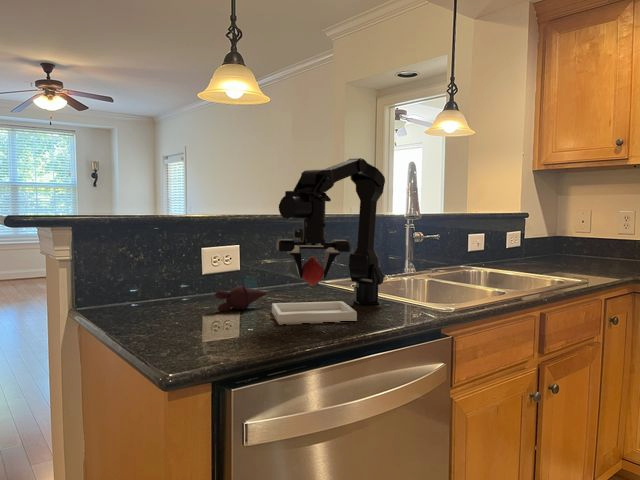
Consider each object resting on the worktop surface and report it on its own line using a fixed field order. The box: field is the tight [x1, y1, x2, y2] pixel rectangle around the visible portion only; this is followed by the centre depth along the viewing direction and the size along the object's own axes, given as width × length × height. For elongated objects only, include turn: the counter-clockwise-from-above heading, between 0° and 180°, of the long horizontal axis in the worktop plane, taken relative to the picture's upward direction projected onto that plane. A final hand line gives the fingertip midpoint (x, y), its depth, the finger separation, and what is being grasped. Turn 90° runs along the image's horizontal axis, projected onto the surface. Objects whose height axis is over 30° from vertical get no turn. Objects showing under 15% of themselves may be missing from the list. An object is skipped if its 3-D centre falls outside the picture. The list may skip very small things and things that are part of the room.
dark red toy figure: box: [214, 284, 267, 312], centre depth 132 cm, size 7×7×15 cm
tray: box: [271, 300, 358, 326], centre depth 124 cm, size 20×13×2 cm, turn 103°
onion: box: [302, 255, 324, 287], centre depth 123 cm, size 6×6×8 cm
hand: (312, 278), depth 124 cm, fingers closed on onion, 6 cm apart
